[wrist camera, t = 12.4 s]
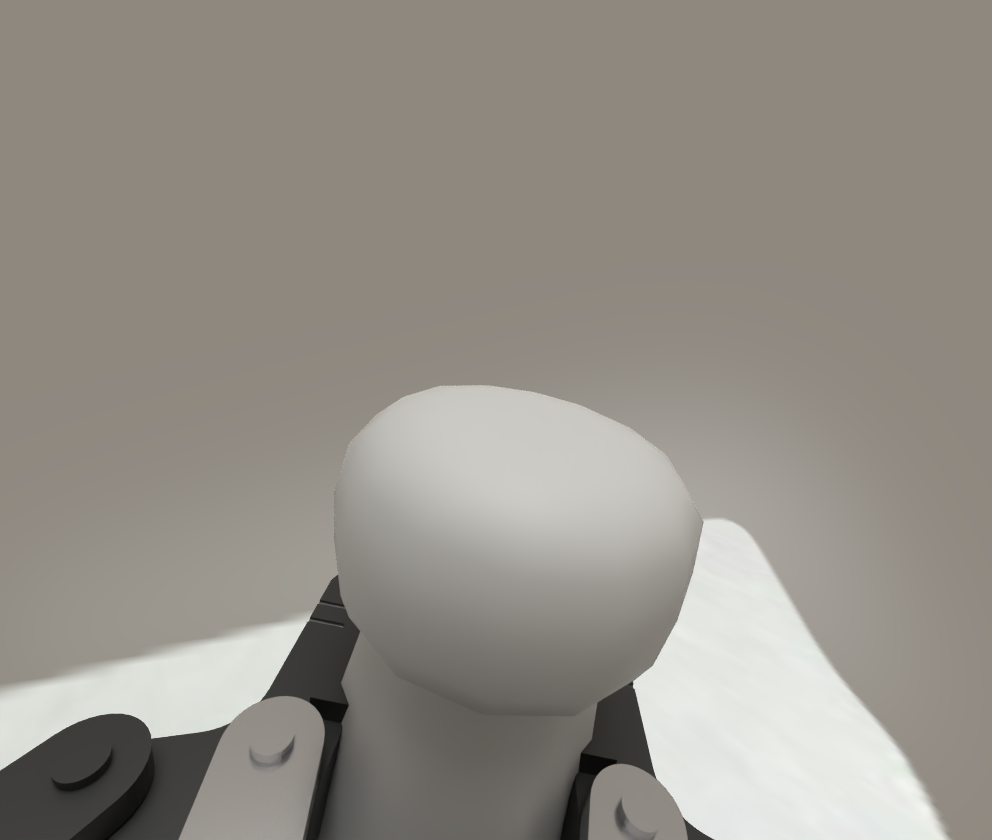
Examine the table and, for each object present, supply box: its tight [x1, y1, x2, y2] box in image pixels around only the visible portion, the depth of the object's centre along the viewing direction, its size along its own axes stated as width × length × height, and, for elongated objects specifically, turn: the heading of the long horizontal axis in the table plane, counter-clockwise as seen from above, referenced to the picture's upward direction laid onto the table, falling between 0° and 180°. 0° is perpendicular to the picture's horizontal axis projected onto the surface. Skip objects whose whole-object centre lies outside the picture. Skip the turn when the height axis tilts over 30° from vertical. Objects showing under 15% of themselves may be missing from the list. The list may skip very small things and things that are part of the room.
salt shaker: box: [318, 385, 703, 840], centre depth 8 cm, size 6×6×13 cm
